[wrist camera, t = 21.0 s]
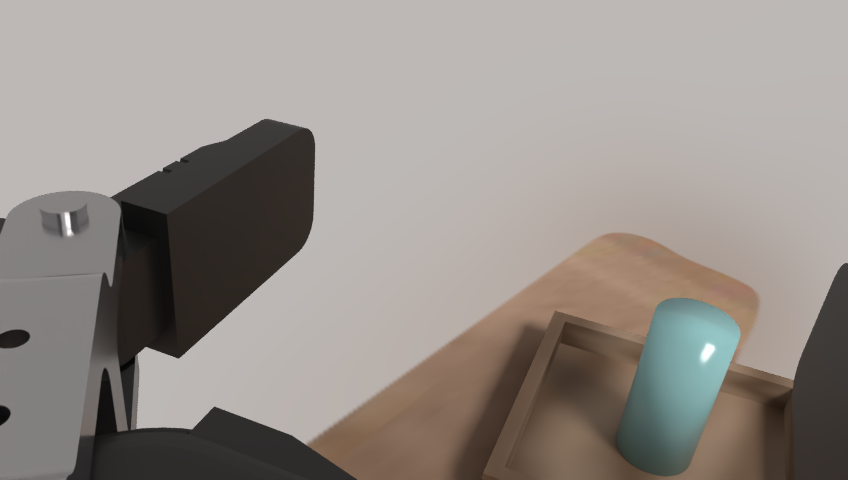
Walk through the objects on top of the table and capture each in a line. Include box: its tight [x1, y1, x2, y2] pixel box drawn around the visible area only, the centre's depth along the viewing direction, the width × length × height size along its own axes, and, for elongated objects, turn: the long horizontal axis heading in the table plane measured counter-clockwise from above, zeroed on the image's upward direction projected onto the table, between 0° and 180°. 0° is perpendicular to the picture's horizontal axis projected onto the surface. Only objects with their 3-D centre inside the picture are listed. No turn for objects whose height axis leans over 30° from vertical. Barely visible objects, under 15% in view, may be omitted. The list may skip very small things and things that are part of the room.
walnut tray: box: [482, 311, 795, 480], centre depth 49 cm, size 18×18×3 cm
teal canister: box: [616, 298, 740, 476], centre depth 47 cm, size 5×5×10 cm
